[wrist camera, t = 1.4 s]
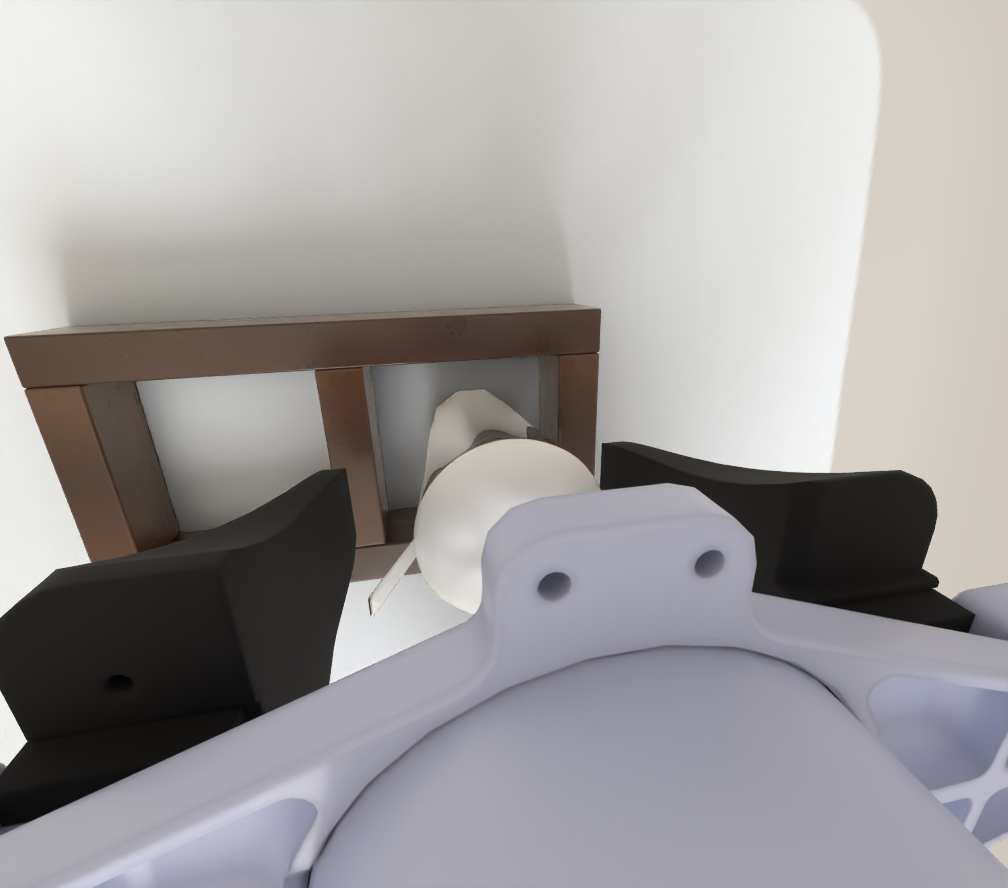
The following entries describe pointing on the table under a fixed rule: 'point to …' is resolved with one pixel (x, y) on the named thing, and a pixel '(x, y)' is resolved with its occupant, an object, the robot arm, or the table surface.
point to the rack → (269, 349)
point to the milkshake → (477, 491)
